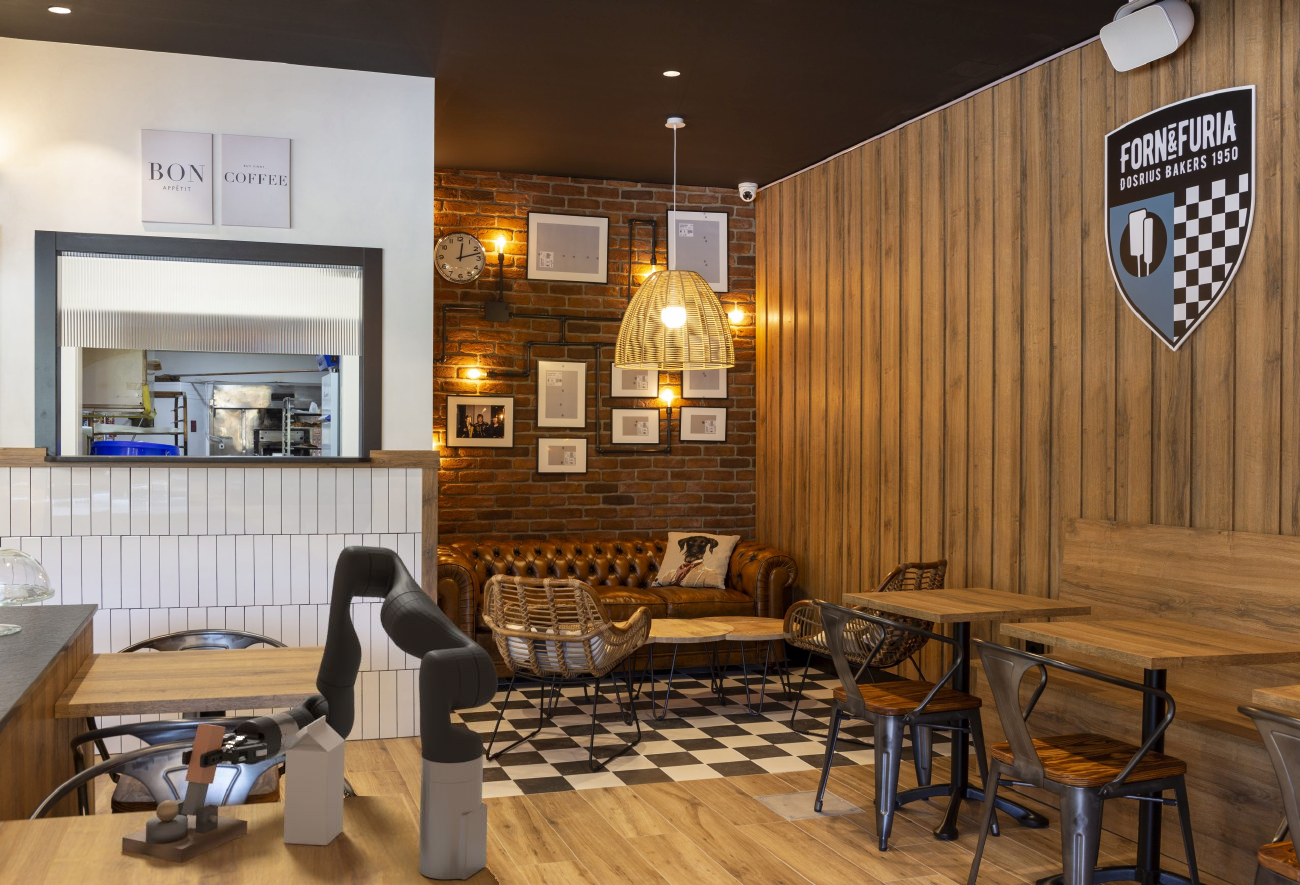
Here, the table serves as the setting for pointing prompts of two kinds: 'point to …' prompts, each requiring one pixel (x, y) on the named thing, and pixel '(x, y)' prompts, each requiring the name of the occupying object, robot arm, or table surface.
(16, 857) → the table surface
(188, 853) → the base
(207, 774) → the lever
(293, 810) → the milk carton
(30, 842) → the table surface
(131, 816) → the table surface
